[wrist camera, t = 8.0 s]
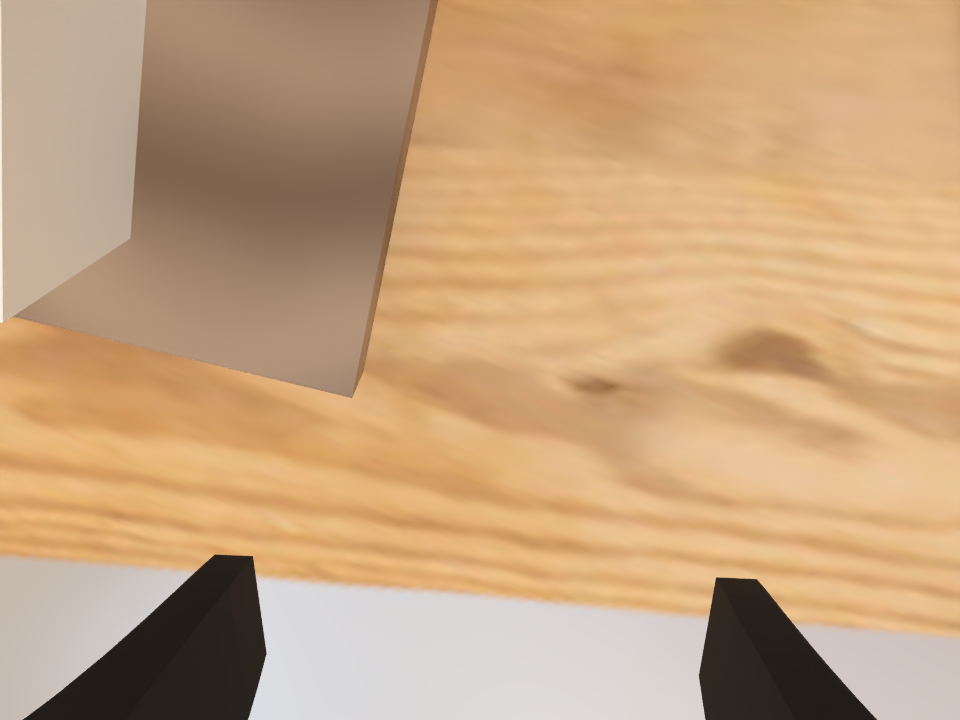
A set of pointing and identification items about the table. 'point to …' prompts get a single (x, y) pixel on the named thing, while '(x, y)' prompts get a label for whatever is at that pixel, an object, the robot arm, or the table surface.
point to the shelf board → (260, 186)
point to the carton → (65, 138)
